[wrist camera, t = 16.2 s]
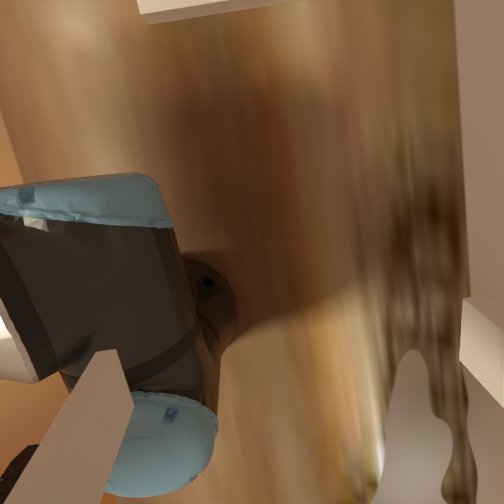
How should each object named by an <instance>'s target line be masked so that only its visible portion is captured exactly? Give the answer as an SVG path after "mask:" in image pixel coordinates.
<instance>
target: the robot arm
mask: <svg viewBox="0 0 504 504" xmlns="http://www.w3.org/2000/svg"><path fill="white" fill-rule="evenodd" d="M174 227H175V225H174V222H173V221H172V220H170V218H169V215H168V212H167V209H166V206H165V203H164V200H163V197H162V194H161V191H160V189H159V187H158V185H157V184H156V182H155V181H154V180H153V179H152V178H150V177H149V176H147V175H144V174H142V173H118V174H107V175H97V176H88V177H79V178H70V179H61V180H52V181H44V182H36V183H27V184H20V185H14V186H7V187H0V380H2V379H3V380H10V381H15V382H21V383H27V384H35V383H37V382H39V381H41V380H43V379H45V378H46V377H48V376H50V375H52V374H54V373H56V372H57V371H59V372H60V375H61V377H62V379H63V381H64V383H65V386H66V388H67V390H68V392H69V394H70V396H69V397H68V399H67V400H66V402H65V404H64V405H63V407H62V408H61V410H60V412H59V413H58V415H57V417H56V418H55V420H54V422H53V423H52V425H51V427H50V428H49V430H48V432H47V433H46V435H45V436H44V438H43V440H42V441H41V443H40V444H36V445H29V446H27V447H26V448H25V449H24V450H23V451H22V452H21V453H20V454H19V455H18V456H16V457H15V458H14V459H13V460H12V461H11V463H10V464H9V466H8V467H7V469H6V470H5V471H4V473H3V474H2V476H1V478H0V504H99V503H100V500H101V498H102V495H103V492H107V493H111V494H114V495H117V496H124V497H150V496H157V495H162V494H166V493H169V492H172V491H175V490H178V489H180V488H182V487H184V486H186V485H187V484H189V483H190V482H192V481H193V480H194V479H195V478H196V477H197V476H198V474H199V473H201V472H202V471H203V470H204V469H205V468H206V467H207V465H208V463H209V461H210V459H211V457H212V453H213V449H214V442H215V437H216V435H217V432H218V419H217V412H218V397H219V381H220V366H221V356H222V354H223V353H224V351H225V349H226V348H227V347H228V345H229V344H230V342H231V340H232V338H233V336H234V333H235V330H236V326H237V302H236V298H235V295H234V293H233V290H232V288H231V287H230V285H229V284H228V282H227V281H226V280H225V279H224V277H223V276H222V275H221V274H219V273H218V272H217V271H216V270H214V269H213V268H211V267H209V266H208V265H206V264H204V263H201V262H198V261H195V260H191V259H185V258H182V257H181V254H180V250H179V247H178V243H177V240H176V236H175V233H174V229H173V228H174ZM459 360H460V361H461V362H462V363H463V364H464V365H465V367H466V368H467V369H468V370H469V371H470V372H471V373H472V374H473V375H474V376H475V377H476V379H477V380H478V381H479V382H480V383H481V384H482V385H483V386H484V387H485V388H486V389H487V390H488V392H489V393H490V394H491V395H492V396H493V397H494V398H495V399H496V400H497V401H498V402H499V403H500V404H501V406H502V407H503V408H504V310H503V309H502V308H500V307H499V306H498V305H496V304H495V303H493V302H492V301H491V300H489V299H488V298H487V297H485V296H477V297H470V298H463V309H462V325H461V340H460V356H459Z"/></svg>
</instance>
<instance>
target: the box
mask: <svg viewBox="0 0 504 504" xmlns="http://www.w3.org/2000/svg"><path fill="white" fill-rule="evenodd" d="M297 1H304V0H137V2H138V7H139V12H140V15H141V16H142V17H143V18H144V19H145V20H146V21H147V22H148V23H149V24H150V25H152V24H158V23H165V22H171V21H177V20H184V19H190V18H196V17H203V16H209V15H215V14H222V13H228V12H234V11H241V10H247V9H253V8H259V7H266V6H272V5H278V4H285V3H291V2H297Z"/></svg>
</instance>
